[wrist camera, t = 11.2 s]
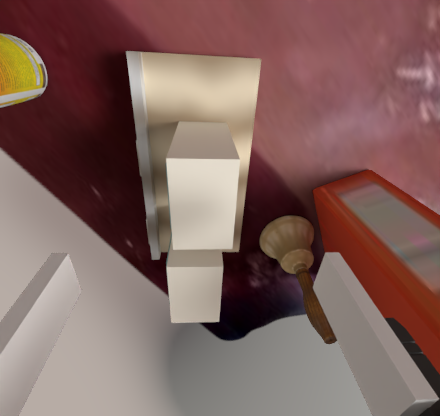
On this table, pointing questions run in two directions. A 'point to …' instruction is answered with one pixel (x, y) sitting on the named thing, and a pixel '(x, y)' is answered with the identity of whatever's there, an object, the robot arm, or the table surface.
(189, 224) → the carton
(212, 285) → the carton
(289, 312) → the table surface
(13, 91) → the supplement bottle
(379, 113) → the table surface
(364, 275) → the file binder
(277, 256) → the hand bell
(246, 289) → the table surface
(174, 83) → the thin cream board
